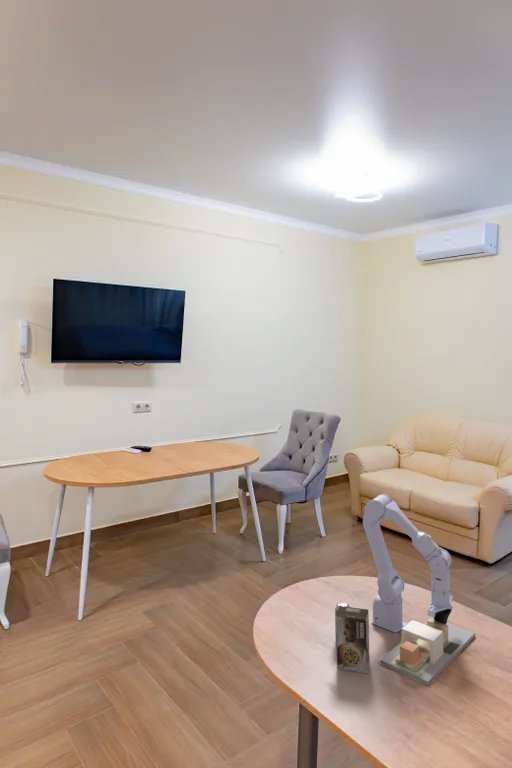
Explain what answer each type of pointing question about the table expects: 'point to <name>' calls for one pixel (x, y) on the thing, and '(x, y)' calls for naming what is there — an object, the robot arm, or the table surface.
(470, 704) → the table surface
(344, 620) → the cookie box
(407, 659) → the block
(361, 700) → the table surface
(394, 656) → the plate
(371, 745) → the table surface
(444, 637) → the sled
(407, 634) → the tunnel
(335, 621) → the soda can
